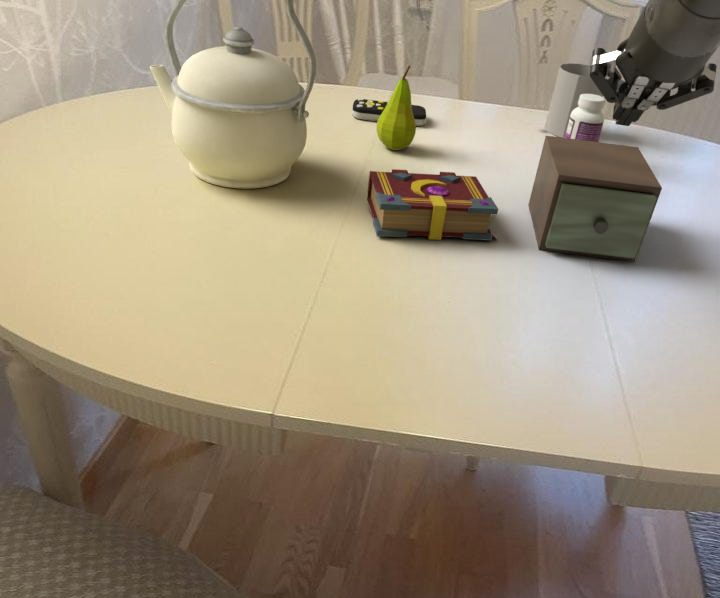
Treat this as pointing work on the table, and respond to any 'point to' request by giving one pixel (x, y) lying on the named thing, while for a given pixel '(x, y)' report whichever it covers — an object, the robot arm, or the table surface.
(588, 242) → the drawer
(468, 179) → the decorative book
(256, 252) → the table surface
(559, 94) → the cup
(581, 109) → the pill bottle
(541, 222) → the cabinet
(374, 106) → the remote control
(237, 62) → the kettle
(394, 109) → the fruit
